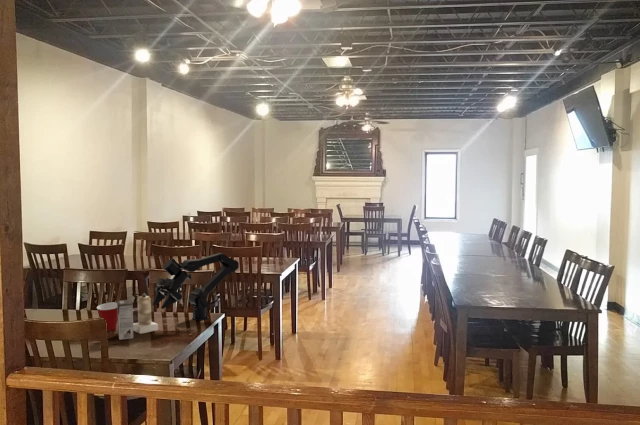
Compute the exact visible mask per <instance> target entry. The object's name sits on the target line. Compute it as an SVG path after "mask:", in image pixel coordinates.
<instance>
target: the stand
mask: <svg viewBox="0 0 640 425" xmlns="http://www.w3.org/2000/svg"><path fill="white" fill-rule="evenodd" d="M151 322H152V323H151V324H150V325H143V326H142V325H138V323H133V332H135V333H137V334H146V333H150V332H156V331H158V330H159V324H158V323H156V322H154V321H152V320H151Z"/></svg>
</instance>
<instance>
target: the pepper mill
mask: <svg viewBox="0 0 640 425" xmlns="http://www.w3.org/2000/svg"><path fill="white" fill-rule="evenodd" d="M137 308H138V325H142V326H143V325H150V324H151V323H152V322H153V321H152V299H151V297H150V295H147V293H145V292H143V293H142V294H141V295H140V296H138V299H137ZM151 321H152V322H151Z"/></svg>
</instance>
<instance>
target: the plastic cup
mask: <svg viewBox="0 0 640 425" xmlns="http://www.w3.org/2000/svg"><path fill="white" fill-rule="evenodd" d="M96 309H97V312H98V314H99V318H100V319H101V318H104V319H105V320H106V323H107V330H108V331H107V332H111V331H115V330H117V328H118V314H117V302H106V303H102V304H99V305H97V307H96Z"/></svg>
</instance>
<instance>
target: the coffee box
mask: <svg viewBox="0 0 640 425" xmlns="http://www.w3.org/2000/svg"><path fill="white" fill-rule="evenodd" d="M116 303H117V314H118V321H117V329H118V330H117V334H118V340H119V341H121V340H128V339H134V331H133V308H134V307H133V306H134V305H133V301H132V299H122V300H121V299H120V300H116Z"/></svg>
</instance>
